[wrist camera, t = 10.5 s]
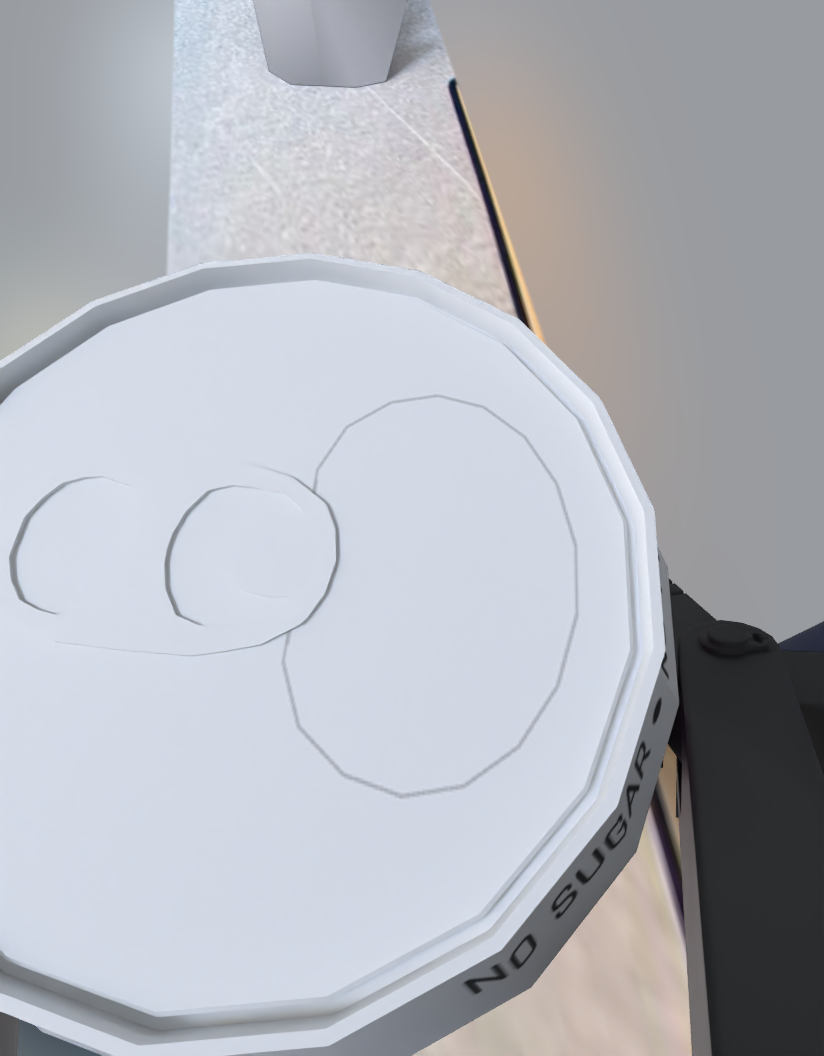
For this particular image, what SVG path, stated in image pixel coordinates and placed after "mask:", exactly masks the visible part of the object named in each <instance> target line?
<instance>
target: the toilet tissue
mask: <svg viewBox="0 0 824 1056" xmlns="http://www.w3.org/2000/svg"><path fill="white" fill-rule="evenodd" d="M407 2H408V0H253V4H254V8H255V13H256V17H257V21H258V26H259V30H260V35H261V39H262V44H263V48H264V52H265V57H266V61H267V66H268V70H269V72H271V73H273V74H274V75H276V76H278V77H279V78H281V79H283V80H284V81H286V82H288V83H289V84H296V85H318V86H341V87H359V86H364V85H369V84H374V83H379V82H385V81H386V79H387V76H388V72H389V68H390V65H391V61H392V57H393V54H394V50H395V46H396V42H397V39H398V35H399V31H400V28H401V24H402V20H403V17H404V13H405V9H406V5H407Z"/></svg>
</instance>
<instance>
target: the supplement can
mask: <svg viewBox="0 0 824 1056" xmlns="http://www.w3.org/2000/svg"><path fill="white" fill-rule="evenodd" d="M678 706H679V696H678V684H677V672H676V660H675V648H674V636H673V624H672V612H671V601H670V589H669V577H668V567H667V565H666V563H665V561H664V559H663V557H662V555H661V553H660V550H659V548H658V546H657V536H656V524H655V512H654V509H653V507H652V504H651V502H650V500H649V498H648V496H647V494H646V492H645V490H644V488H643V486H642V484H641V481H640V479H639V477H638V475H637V473H636V471H635V469H634V467H633V465H632V463H631V461H630V459H629V457H628V455H627V452H626V450H625V448H624V446H623V444H622V442H621V440H620V438H619V436H618V434H617V432H616V430H615V428H614V425H613V423H612V421H611V419H610V417H609V415H608V413H607V411H606V409H605V407H604V405H603V403H602V401H601V399H600V398H599V397H598V396H597V395H596V394H595V393H594V392H593V391H592V390H591V389H590V388H589V387H588V386H587V385H586V384H585V383H584V382H583V381H582V380H581V379H580V378H579V377H578V376H577V375H576V374H575V373H574V372H573V371H571V369H570V368H568V366H566V365H565V364H564V363H563V362H562V361H561V360H560V359H559V358H558V357H557V356H556V355H555V354H554V353H553V352H552V351H551V350H550V349H549V348H548V347H547V346H546V345H545V344H544V343H543V342H542V341H541V340H540V339H539V338H538V337H537V336H536V335H535V334H534V333H533V332H532V331H530V330H529V329H528V328H527V327H526V326H525V325H524V324H523V323H522V322H521V321H520V320H519V319H518V318H516V317H513V316H511V315H509V314H507V313H505V312H503V311H501V310H499V309H497V308H495V307H493V306H491V305H489V304H487V303H485V302H483V301H481V300H479V299H477V298H474V297H472V296H470V295H468V294H466V293H464V292H462V291H460V290H458V289H456V288H454V287H452V286H450V285H448V284H446V283H444V282H442V281H440V280H437V279H435V278H433V277H431V276H429V275H427V274H425V273H423V272H421V271H417V270H411V269H405V268H399V267H393V266H387V265H382V264H376V263H370V262H364V261H358V260H352V259H346V258H340V257H334V256H328V255H322V254H316V253H305V254H294V255H283V256H273V257H262V258H251V259H240V260H229V261H218V262H208V263H200V264H197V265H195V266H192V267H189V268H186V269H183V270H180V271H177V272H174V273H172V274H169V275H166V276H163V277H160V278H157V279H154V280H152V281H149V282H146V283H144V284H140V285H137V286H134V287H132V288H129V289H126V290H123V291H120V292H117V293H115V294H112V295H109V296H106V297H103V298H100V299H98V300H94V301H92V302H90V303H89V304H87V305H86V306H84V307H83V308H81V309H80V310H78V311H77V312H75V313H73V314H72V315H70V316H69V317H67V318H66V319H64V320H63V321H61V322H60V323H58V324H57V325H55V326H53V327H52V328H50V329H49V330H47V331H46V332H44V333H43V334H41V335H40V336H38V337H37V338H35V339H34V340H32V341H30V342H29V343H27V344H26V345H24V346H23V347H21V348H20V349H18V350H17V351H15V352H14V353H12V354H10V355H9V356H7V357H6V358H5V359H3V360H1V361H0V1012H3V1013H5V1014H8V1015H11V1016H13V1017H16V1018H18V1019H21V1020H23V1021H26V1022H29V1023H31V1024H34V1025H36V1026H37V1027H38V1028H39V1029H40V1031H41V1032H44V1033H47V1034H49V1035H52V1036H54V1037H57V1038H59V1039H62V1040H65V1041H67V1042H70V1043H72V1044H75V1045H78V1046H81V1047H82V1048H85V1049H88V1050H90V1051H93V1052H95V1053H98V1054H100V1055H103V1056H411V1055H413V1054H415V1053H417V1052H418V1051H420V1050H422V1049H424V1048H425V1047H427V1046H429V1045H431V1044H432V1043H434V1042H436V1041H438V1040H439V1039H441V1038H443V1037H445V1036H446V1035H448V1034H450V1033H452V1032H453V1031H455V1030H457V1029H459V1028H461V1027H462V1026H464V1025H466V1024H468V1023H469V1022H471V1021H473V1020H475V1019H476V1018H478V1017H480V1016H482V1015H483V1014H485V1013H487V1012H489V1011H490V1010H492V1009H494V1008H496V1007H497V1006H499V1005H501V1004H503V1003H505V1002H506V1001H508V1000H510V999H512V998H513V997H515V996H517V995H519V994H520V993H522V992H524V991H526V990H527V989H529V988H531V987H532V986H533V984H534V983H535V982H536V981H537V979H538V978H539V977H540V975H541V974H542V973H543V972H544V970H545V969H546V968H547V966H548V965H549V964H550V962H551V961H552V960H553V959H554V957H555V956H556V955H557V953H558V952H559V951H560V950H561V948H562V947H563V946H564V944H565V943H566V942H567V941H568V939H569V938H570V937H571V935H572V934H573V933H574V932H575V930H576V929H577V928H578V926H579V925H580V924H581V922H582V921H583V920H584V919H585V917H586V916H587V915H588V913H589V912H590V911H591V910H592V908H593V907H594V906H595V904H596V903H597V902H598V901H599V899H600V898H601V897H602V895H603V894H604V893H605V891H606V890H607V889H608V888H609V886H610V885H611V884H612V882H613V881H614V880H615V879H616V877H617V876H618V875H619V873H620V872H621V871H622V870H623V868H624V867H625V866H626V864H627V863H628V862H629V860H630V859H631V858H632V857H633V855H634V854H635V853H636V851H637V847H638V844H639V840H640V837H641V833H642V830H643V827H644V823H645V820H646V816H647V813H648V809H649V806H650V802H651V799H652V796H653V792H654V789H655V785H656V782H657V778H658V775H659V771H660V768H661V765H662V761H663V758H664V754H665V751H666V747H667V744H668V740H669V737H670V734H671V730H672V727H673V723H674V720H675V716H676V713H677V709H678Z"/></svg>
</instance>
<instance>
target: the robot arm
mask: <svg viewBox="0 0 824 1056" xmlns="http://www.w3.org/2000/svg"><path fill="white" fill-rule="evenodd" d="M669 589H670V601H671V612H672V624H673V636H674V648H675V660H676V672H677V684H678V696H679V706H678V709H677V713H676V716H675V720H674V723H673V727H672V730H671V734H670V737H669V740H668V745H669V746H670V748H671V749H672V750H673V752H674V753H675V755H676V756H677V780H676V817H677V818H679V832H680V849H681V867H682V884H683V902H684V919H685V937H686V955H687V972H688V990H689V1007H690V1025H691V1043H692V1056H824V652H806V651H786V650H780V647H779V645H778V644H777V642H776V641H775V640H774V639H773V637H772V636H771V635H769V634H767V633H765V632H764V631H762V630H761V629H759V628H756V627H753V626H750V625H747V624H744V623H739V622H732V621H724V620H719V621H716V619H714V618H713V617H712V616H711V615H710V614H709V613H708V612H706V611H705V610H704V609H703V608H702V607H701V606H699V604H697V603H696V602H695V601H694V600H693V599H692V598H690V597H689V596H688V595H687V594H684V593H683V590H681V589H680V588H679V587H678V586H677V585H676V584H672V581H671V580H670V579H669ZM662 767H663V761H662V765H661V768H662ZM18 1031H19V1019H18V1018H16V1017H13V1016H11V1015H8V1014H5V1013H3V1012H0V1056H17V1048H18Z"/></svg>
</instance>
